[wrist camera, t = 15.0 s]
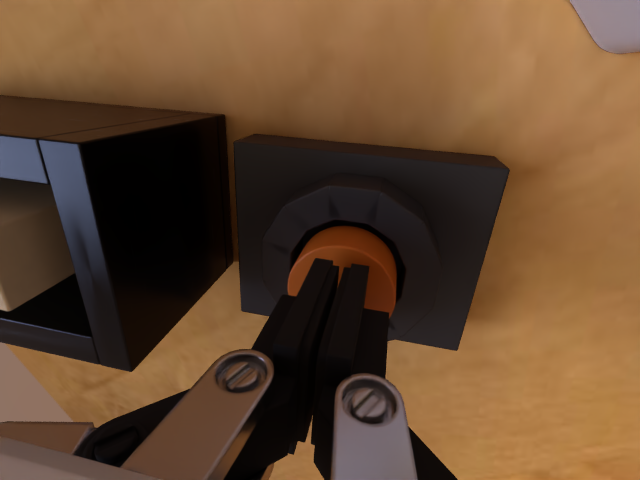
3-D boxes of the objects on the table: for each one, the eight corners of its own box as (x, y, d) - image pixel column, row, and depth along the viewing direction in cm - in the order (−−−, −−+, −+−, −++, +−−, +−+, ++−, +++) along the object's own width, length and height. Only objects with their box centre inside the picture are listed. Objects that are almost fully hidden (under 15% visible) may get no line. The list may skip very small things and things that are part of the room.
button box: (257, 287, 19) (223, 336, 15) (254, 133, 15) (209, 149, 12) (451, 320, 17) (464, 383, 14) (495, 156, 14) (528, 183, 10)
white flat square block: (173, 215, 17) (9, 312, 10) (35, 196, 18) (-197, 269, 11) (166, 164, 16) (-22, 232, 9) (20, 148, 17) (-246, 195, 10)
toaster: (21, 228, 21) (-172, 303, 14) (-25, 92, 18) (-305, 101, 11) (233, 262, 18) (131, 373, 12) (225, 114, 15) (78, 142, 8)
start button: (298, 301, 14) (286, 329, 13) (301, 218, 13) (287, 238, 11) (389, 317, 13) (387, 348, 12) (403, 232, 12) (404, 255, 10)
